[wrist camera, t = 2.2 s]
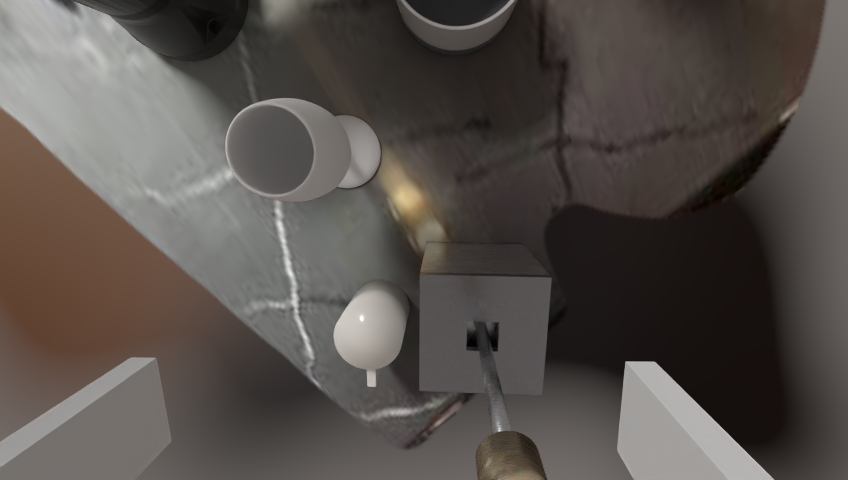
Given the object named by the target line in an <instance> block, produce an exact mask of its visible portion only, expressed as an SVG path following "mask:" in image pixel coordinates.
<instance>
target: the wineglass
mask: <svg viewBox="0 0 848 480" xmlns="http://www.w3.org/2000/svg"><path fill="white" fill-rule="evenodd" d="M225 149H226V156H227V160H228V163H229V166H230V168H231V170H232V172H233V174H234V175H235V177H236V178H237V179H238V181H239V182H240V183H241V184H242V185H243V186H245V187H246V188H247V189H249V190H250V191H252V192H253V193H255V194H257V195H260V196H263V197H266V198H269V199H274V200H278V201H286V202H302V201H308V200H312V199H316V198H319V197H321V196H323V195H325V194H327V193H329V192H330V191H332V190H333V189H334V188H336V187H340V188H354V187H358V186H360V185H362V184H364V183H366V182H367V181H368V180H369V179H371V177H372V176H373V175H374V174H375V172H376V170H377V168H378V166H379V163H380V157H381V149H380V144H379V140H378V138H377V136H376V134H375V132H374V131H373V129H372V128H371V127H370V126H369V125H368V124H367V123H366V122H364V121H363V120H361V119H359V118H357V117H354V116H350V115H338V116H333V115H332V114H331V113H330V112H328V111H327V110H325V109H324V108H322V107H320V106H318V105H316V104H313V103H311V102H308V101H304V100H300V99H293V98H278V99H270V100H265V101H261V102H258V103H255V104H252V105H250V106H248V107H246V108H245V109H243V110H242V111H241V112H240V113H238V114H237V116H236V117H235V118H234V119H233V121H232V123H231V124H230V126H229V129H228V132H227V136H226V143H225Z"/></svg>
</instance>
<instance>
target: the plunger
mask: <svg viewBox="0 0 848 480" xmlns="http://www.w3.org/2000/svg"><path fill="white" fill-rule="evenodd" d="M497 334H498V322H468V321H467V344H466V347H478V350H479V356H480V362H481V368H482V374H483V380H484V386H485V392H486V398H487V403H488V410H489V416H490V422H491V427H492V434H491V435H490V436H488V437H486V438H485V439H484V440H483V441H482V442H481V443H480V445H479V447H478V449H477V452H476V468H477V479H478V480H547V477H546V474H545V471H544V468H543V464H542V461H541V458H540V455H539V451H538V449H537V447H536V445H535V443H534V442H533V441H532V440H531V439H530V438H529V437H527V436H525V435H524V434H521V433H519V432H514V431H512V430H511V426H510V422H509V417H508V413H507V409H506V405H505V401H504V397H503V392H502V388H501V384H500V380H499V376H498V371H497V367H496V363H495V359H494V355H493V351H492V347H493V348H497Z"/></svg>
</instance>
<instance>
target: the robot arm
mask: <svg viewBox="0 0 848 480" xmlns="http://www.w3.org/2000/svg"><path fill="white" fill-rule="evenodd" d="M72 1H75V2H77V3H80V4H82V5H85V6H87V7H90V8H92V9H95V10H98V11H100V12H103V13H105V14H108V15H110V16H111V17H112V18H113V19H114V20H115V21H116V22H118V23H119V24H120V25H121V26H122V27H123V28H125V29H126V30H127V31H128V32H129V33H130V34H131V35H132V36H133V37H134V38H135V39H136V40H137V41H139V42H140V43H142V44H143V45H145V46H146V47H148V48H150V49H152V50H154V51H156V52H158V53H161V54H164V55H167V56H169V57H172V58H176V59H180V60H187V61H195V60H202V59H206V58H209V57H212V56H214V55H216V54H218V53H219V52H221V51H222V50H224V49H225V48H226V47H227V46H228V45H229V44H230V43H231V42H232V41H233V40H234V39H235V37H236V36H237V34H238V33H239V31H240V29H241V27H242V25H243V22H244V19H245V16H246V11H247V6H248V0H72ZM170 442H171V436H170V430H169V425H168V419H167V414H166V408H165V403H164V397H163V392H162V386H161V382H160V376H159V370H158V364H157V359H156V358H130V359H128V360H126V361H125V362H123V363H122V364H120V365H119V366H117V367H116V368H114V369H112V370H111V371H109V372H108V373H106V374H105V375H103V376H102V377H100V378H99V379H97V380H95V381H94V382H92V383H91V384H89V385H88V386H86V387H85V388H83V389H81V390H80V391H79V392H77V393H75V394H74V395H72V396H71V397H69V398H68V399H66V400H64V401H63V402H62V403H60V404H58V405H57V406H55V407H54V408H52V409H50V410H49V411H47V412H46V413H44V414H43V415H41V416H39V417H38V418H36V419H35V420H33V421H32V422H30V423H29V424H27V425H26V426H24V427H23V428H21V429H19V430H18V431H16V432H15V433H13V434H12V435H10V436H8V437H7V438H5V439H4V440H2V441H1V442H0V480H135V479H136V478H137V476H138V475H139V474H140V473H141V472H142V471H143V470H144V469H145V468H146V467H147V466H148V465H149V464H150V463H151V462H152V461H153V460H154V459H155V458H156V457H157V456H158V455H159V454H160V453H161V451H162V450H163V449H164V448H165V447H166V446H167V445H168V444H169V443H170ZM617 451H618V452H619V455H620V456H621V458H622V460H623V462H624V463H625V465H626V467H627V468H628V470H629V472H630V474H631V475H632V477H633V479H634V480H774V479H773V478H772V477H771V476H770V475H769V474H768V473H767V472H766V471H765V470H764V469H763V468H762V467H761V466H760V465H759V464H758V463H757V462H756V461H755V460H754V459H752V457H751V456H750V455H748V453H747V452H746V451H745V450H743V448H741V447H740V446H739V445H738V444H737V443H736V442H735V441H734V440H733V439H732V438H731V437H730V436H729V435H728V434H727V433H726V432H725V431H724V430H723V429H722V428H721V427H720V426H719V425H718V424H717V423H716V422H715V421H714V420H713V419H712V418H711V417H710V416H709V415H708V414H707V413H706V412H705V411H704V410H703V409H702V408H701V407H700V406H699V405H698V404H697V403H696V402H695V401H694V400H693V399H692V398H691V397H690V396H689V395H688V394H687V393H686V392H685V391H684V390H683V389H682V388H681V387H680V386H679V385H678V384H677V383H676V382H675V381H674V380H673V379H672V378H671V377H670V376H669V375H668V374H667V373H666V372H665V371H664V370H663V369H662V368H661V367H660V366H659V365H658V364H657V363H656V362H626V363H625V373H624V383H623V393H622V404H621V414H620V425H619V435H618V446H617Z"/></svg>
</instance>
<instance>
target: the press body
mask: <svg viewBox="0 0 848 480" xmlns="http://www.w3.org/2000/svg"><path fill="white" fill-rule="evenodd" d="M551 281H552V277H551V276H550V275H549V274H548V273H547V271H546V270H545V269H544V268H543V267H542V266H541V265H540V263H539V262H538V261H537V260H536V259H535V258H534V256H533V255H532V254H531V253H530V252H529V251H528V249H527V248H526V247H525V246H524V245H523V244H515V243H461V242H427V243H426V248H425V252H424V257H423V262H422V266H421V271H420V330H419V391H436V392H463V393H486V392H485V386H484V380H483V374H482V368H481V362H480V356H479V350H478V347H466V344H467V321H468V322H498V334H497V348H493V347H492V351H493V355H494V359H495V363H496V367H497V371H498V376H499V380H500V384H501V388H502V392H503V394H516V395H518V394H519V395H542V393H543V380H544V368H545V355H546V342H547V331H548V318H549V306H550V294H551Z"/></svg>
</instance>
